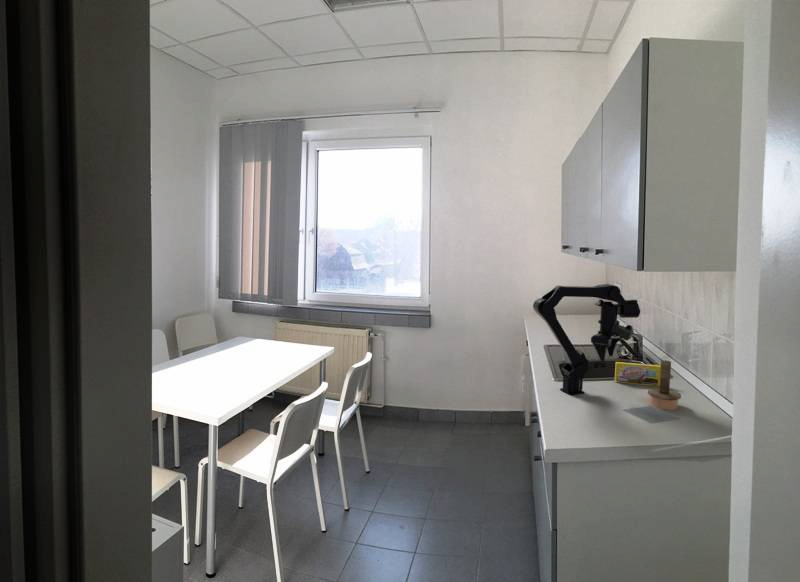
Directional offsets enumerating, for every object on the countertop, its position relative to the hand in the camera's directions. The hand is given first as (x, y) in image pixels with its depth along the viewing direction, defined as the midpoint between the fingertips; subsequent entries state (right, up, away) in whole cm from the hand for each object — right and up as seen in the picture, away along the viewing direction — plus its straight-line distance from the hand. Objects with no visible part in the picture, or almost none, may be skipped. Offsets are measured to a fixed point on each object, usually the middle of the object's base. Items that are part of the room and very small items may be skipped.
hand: (606, 358), depth 174 cm
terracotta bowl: (+13, -15, -14) cm, 24 cm away
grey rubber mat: (+4, -16, -22) cm, 27 cm away
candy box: (+17, -12, +11) cm, 24 cm away
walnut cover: (+13, -11, -15) cm, 22 cm away
